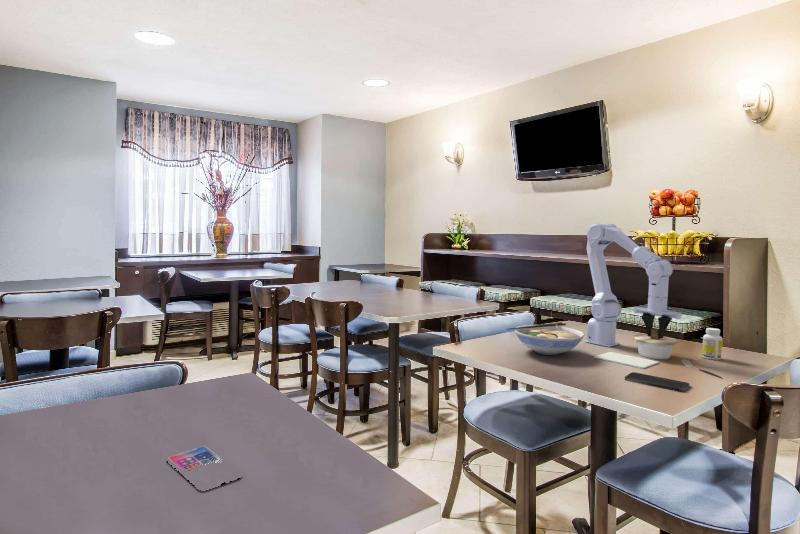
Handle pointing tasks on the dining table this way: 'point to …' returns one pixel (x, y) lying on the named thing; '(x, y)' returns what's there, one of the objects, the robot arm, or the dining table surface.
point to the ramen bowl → (549, 338)
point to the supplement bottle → (712, 344)
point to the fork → (699, 369)
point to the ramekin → (654, 350)
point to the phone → (657, 382)
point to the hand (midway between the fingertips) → (655, 337)
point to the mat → (626, 360)
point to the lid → (655, 338)
